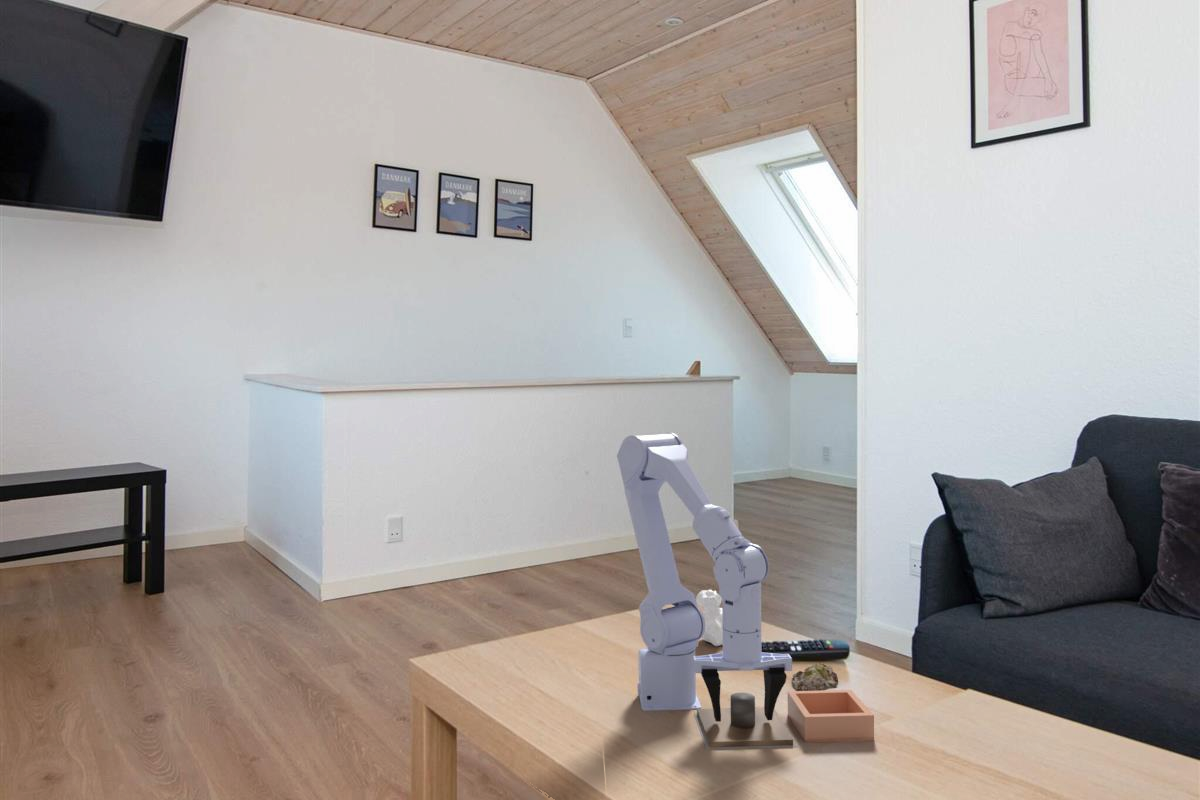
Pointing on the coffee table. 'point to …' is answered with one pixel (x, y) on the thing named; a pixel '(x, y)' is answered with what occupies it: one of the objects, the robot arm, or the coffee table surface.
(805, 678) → the mineral rock
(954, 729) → the coffee table surface
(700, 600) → the bust
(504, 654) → the coffee table surface
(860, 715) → the peach square box
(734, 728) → the walnut lid
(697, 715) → the rubber mat
